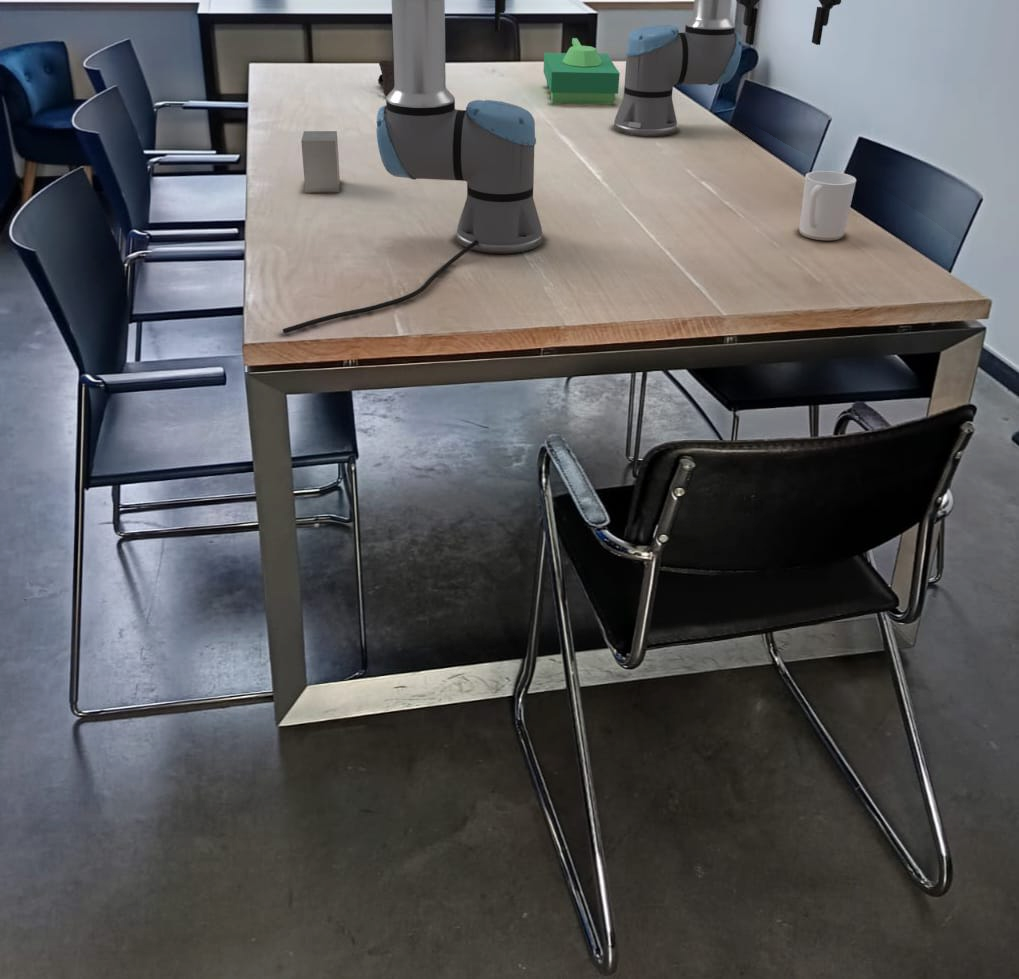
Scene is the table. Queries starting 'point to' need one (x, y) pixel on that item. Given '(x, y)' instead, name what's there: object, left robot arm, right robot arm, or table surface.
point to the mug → (826, 204)
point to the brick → (320, 161)
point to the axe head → (387, 76)
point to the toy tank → (581, 76)
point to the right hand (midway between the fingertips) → (782, 43)
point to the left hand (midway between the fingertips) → (464, 29)
